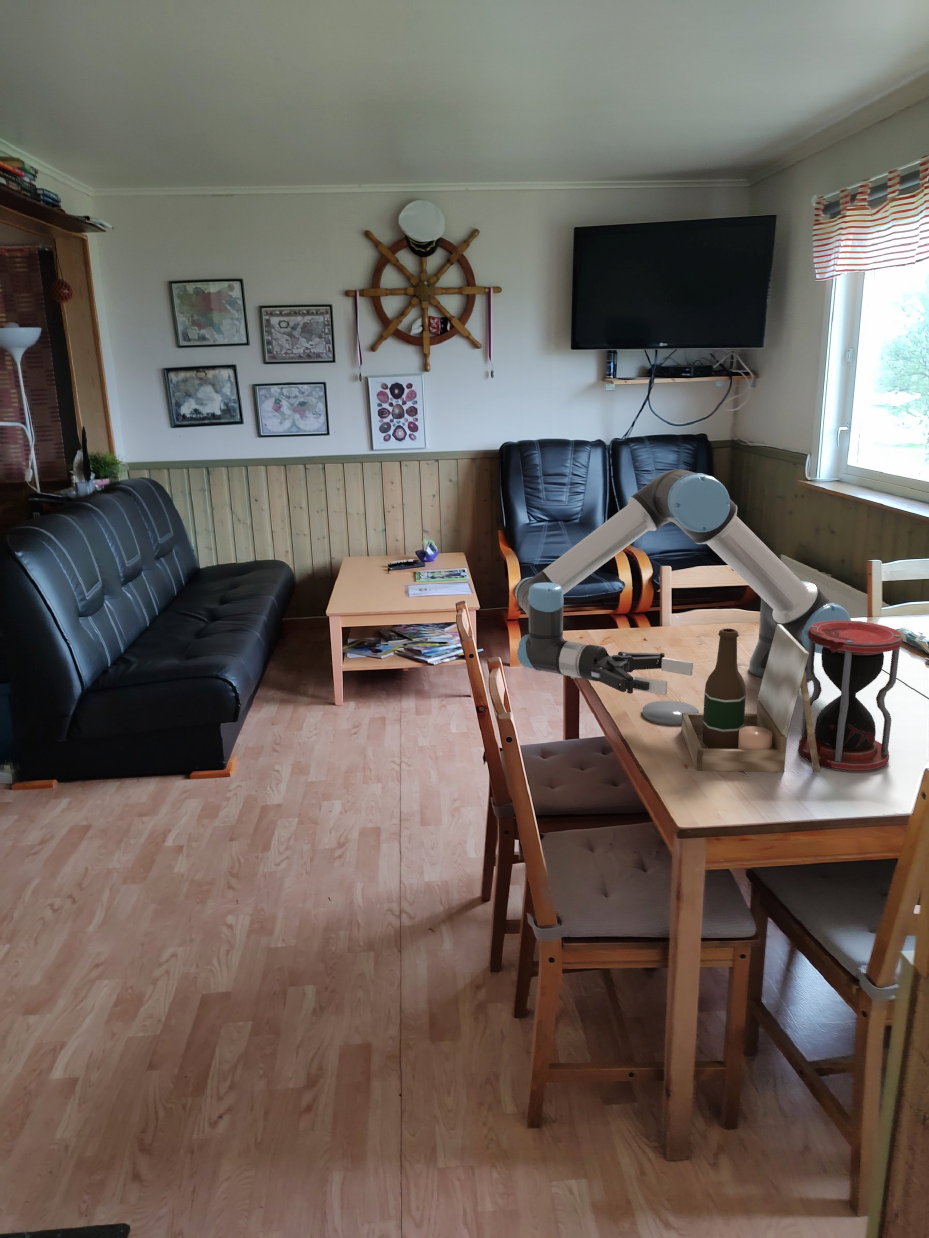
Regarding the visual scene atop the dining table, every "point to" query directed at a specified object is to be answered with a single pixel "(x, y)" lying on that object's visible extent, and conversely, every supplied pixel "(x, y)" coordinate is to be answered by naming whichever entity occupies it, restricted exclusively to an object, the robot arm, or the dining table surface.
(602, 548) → the robot arm
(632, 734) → the dining table surface
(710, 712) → the beer bottle
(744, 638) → the dining table surface
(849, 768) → the hourglass
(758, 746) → the tan rounded block
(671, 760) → the dining table surface
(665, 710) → the coaster
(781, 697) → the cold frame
